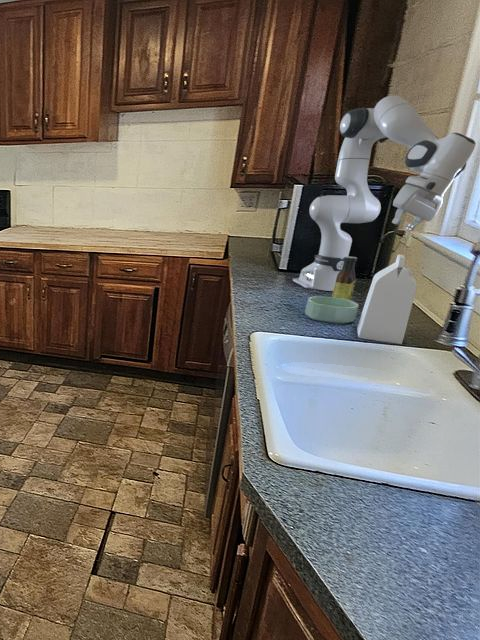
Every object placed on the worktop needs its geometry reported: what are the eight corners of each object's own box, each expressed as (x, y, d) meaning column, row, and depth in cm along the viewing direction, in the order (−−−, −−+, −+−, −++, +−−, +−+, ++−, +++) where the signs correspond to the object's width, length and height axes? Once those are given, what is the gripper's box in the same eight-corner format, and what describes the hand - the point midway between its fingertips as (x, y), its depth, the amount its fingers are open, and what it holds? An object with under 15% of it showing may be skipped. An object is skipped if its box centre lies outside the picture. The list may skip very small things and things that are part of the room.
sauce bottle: (350, 312, 197) (364, 259, 190) (332, 311, 198) (345, 258, 191) (344, 307, 203) (357, 256, 195) (326, 306, 204) (338, 255, 197)
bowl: (295, 312, 197) (298, 296, 194) (334, 311, 198) (338, 295, 196) (322, 325, 182) (326, 308, 180) (364, 324, 184) (369, 307, 181)
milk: (356, 327, 179) (377, 251, 170) (398, 333, 174) (421, 254, 164) (358, 337, 170) (380, 257, 160) (401, 344, 164) (427, 261, 155)
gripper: (435, 191, 177) (408, 230, 183) (405, 175, 168) (377, 217, 174) (454, 197, 173) (426, 237, 179) (424, 180, 163) (395, 223, 169)
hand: (401, 227), depth 176 cm, fingers open, 8 cm apart
